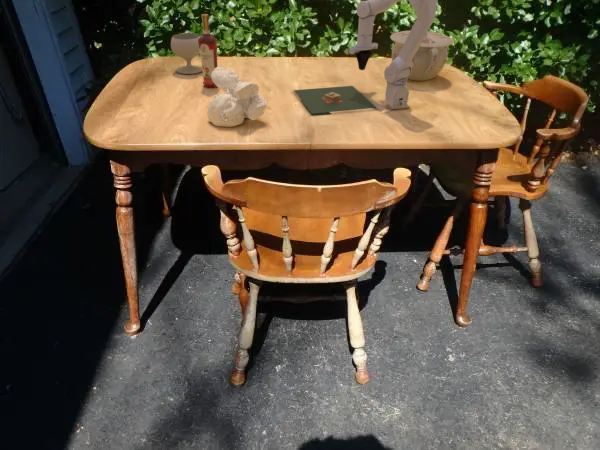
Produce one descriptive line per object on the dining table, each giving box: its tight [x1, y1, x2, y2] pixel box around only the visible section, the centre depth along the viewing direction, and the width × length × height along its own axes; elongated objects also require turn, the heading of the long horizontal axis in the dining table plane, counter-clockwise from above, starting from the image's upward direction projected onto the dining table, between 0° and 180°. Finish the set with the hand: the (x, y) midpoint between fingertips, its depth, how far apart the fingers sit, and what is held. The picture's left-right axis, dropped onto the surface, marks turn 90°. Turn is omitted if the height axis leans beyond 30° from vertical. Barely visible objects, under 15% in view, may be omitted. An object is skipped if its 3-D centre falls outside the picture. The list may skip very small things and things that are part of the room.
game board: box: [293, 85, 377, 116], centre depth 188 cm, size 26×26×1 cm
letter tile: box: [324, 92, 340, 103], centre depth 186 cm, size 4×4×2 cm
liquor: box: [198, 13, 218, 88], centre depth 192 cm, size 7×7×28 cm
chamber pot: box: [389, 29, 455, 82], centre depth 210 cm, size 28×28×21 cm
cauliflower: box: [206, 66, 268, 128], centre depth 167 cm, size 19×20×20 cm
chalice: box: [170, 32, 203, 75], centre depth 212 cm, size 14×14×15 cm
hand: (361, 69), depth 192 cm, fingers closed
